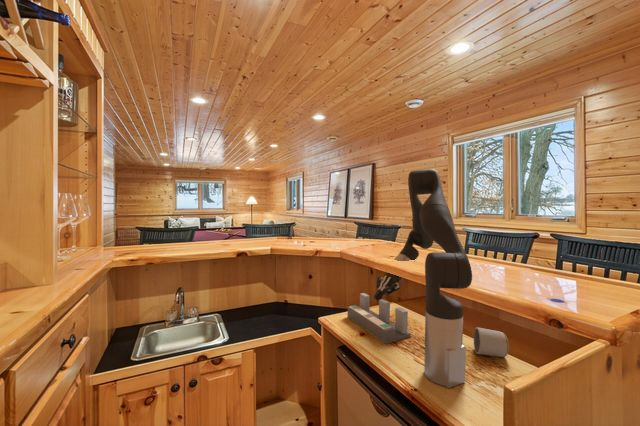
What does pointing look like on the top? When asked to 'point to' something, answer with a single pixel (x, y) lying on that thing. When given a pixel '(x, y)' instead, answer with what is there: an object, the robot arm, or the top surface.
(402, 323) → the grey tall block
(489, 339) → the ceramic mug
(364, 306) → the far button
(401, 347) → the top surface
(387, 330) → the button console
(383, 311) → the gray upright block
